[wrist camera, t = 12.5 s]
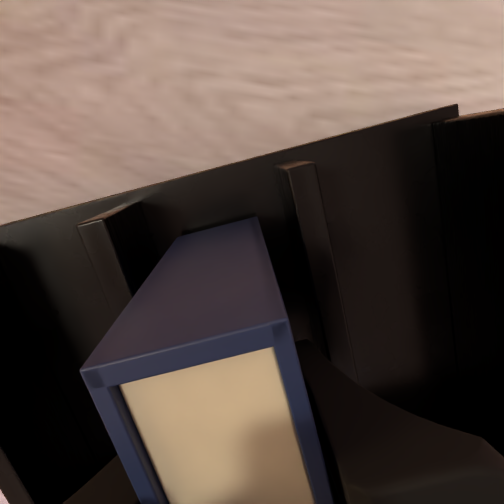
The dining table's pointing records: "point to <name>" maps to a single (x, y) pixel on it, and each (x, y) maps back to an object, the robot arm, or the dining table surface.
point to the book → (209, 380)
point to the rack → (288, 277)
